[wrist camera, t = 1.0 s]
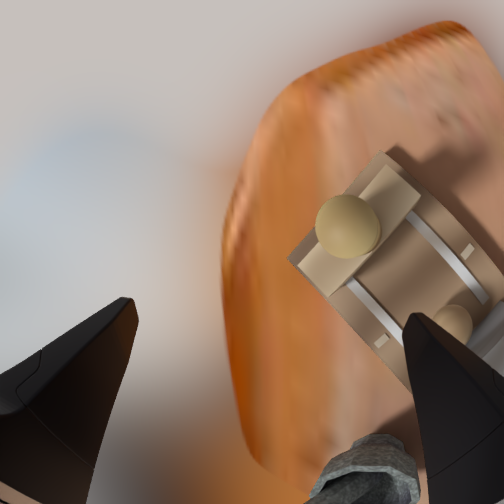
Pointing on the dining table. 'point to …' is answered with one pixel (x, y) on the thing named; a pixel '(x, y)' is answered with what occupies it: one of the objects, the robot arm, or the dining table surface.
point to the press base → (418, 279)
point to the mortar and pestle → (369, 475)
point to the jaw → (356, 229)
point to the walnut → (455, 322)
